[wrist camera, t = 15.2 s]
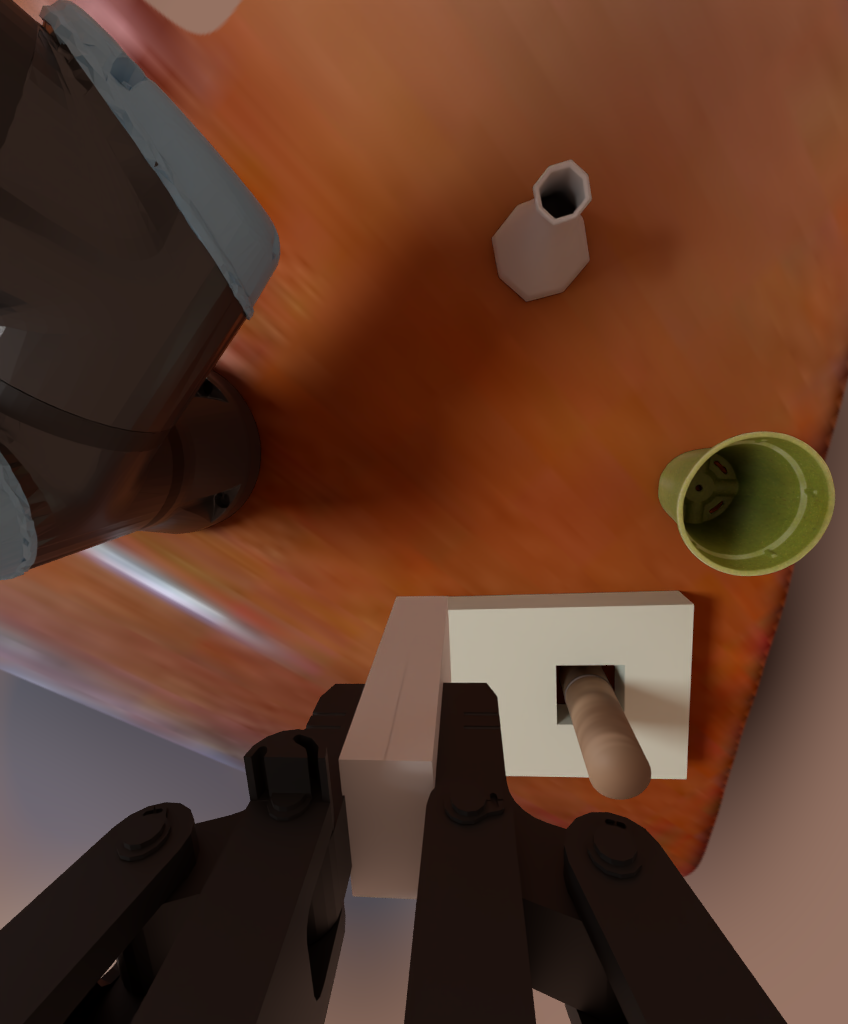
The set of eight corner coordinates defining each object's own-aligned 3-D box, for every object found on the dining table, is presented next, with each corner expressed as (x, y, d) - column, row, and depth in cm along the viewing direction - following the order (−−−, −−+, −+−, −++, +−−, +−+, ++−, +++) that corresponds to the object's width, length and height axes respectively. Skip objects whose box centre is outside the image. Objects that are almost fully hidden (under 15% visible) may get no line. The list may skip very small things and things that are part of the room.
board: (455, 751, 46) (454, 774, 43) (445, 596, 43) (443, 610, 40) (672, 754, 44) (686, 779, 41) (678, 590, 41) (694, 604, 38)
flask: (605, 265, 36) (652, 211, 27) (521, 319, 38) (536, 287, 28) (559, 177, 36) (590, 88, 26) (475, 235, 37) (474, 173, 27)
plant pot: (610, 489, 40) (647, 509, 31) (700, 402, 38) (764, 400, 29) (690, 563, 40) (746, 604, 32) (782, 482, 38) (869, 502, 30)
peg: (558, 696, 44) (588, 799, 32) (557, 655, 43) (587, 746, 32) (604, 696, 44) (651, 800, 32) (604, 655, 43) (652, 746, 31)
